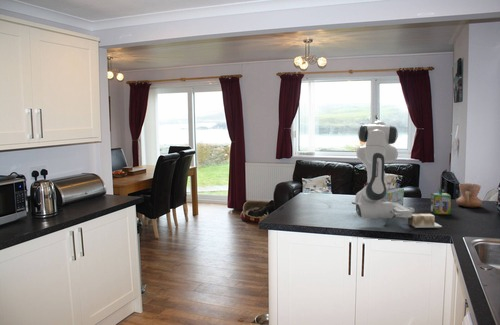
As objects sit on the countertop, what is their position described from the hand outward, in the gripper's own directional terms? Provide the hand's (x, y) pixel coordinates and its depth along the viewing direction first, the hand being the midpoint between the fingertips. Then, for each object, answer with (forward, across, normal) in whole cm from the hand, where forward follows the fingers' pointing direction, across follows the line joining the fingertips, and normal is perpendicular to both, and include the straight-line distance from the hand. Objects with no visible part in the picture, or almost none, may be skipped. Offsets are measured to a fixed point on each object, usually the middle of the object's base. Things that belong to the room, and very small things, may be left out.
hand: (413, 209), depth 212 cm
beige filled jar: (-2, 0, +5) cm, 6 cm away
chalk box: (+28, +28, +9) cm, 41 cm away
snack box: (-2, +24, +9) cm, 25 cm away
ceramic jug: (+55, +43, +9) cm, 70 cm away
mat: (+6, 0, +8) cm, 11 cm away
